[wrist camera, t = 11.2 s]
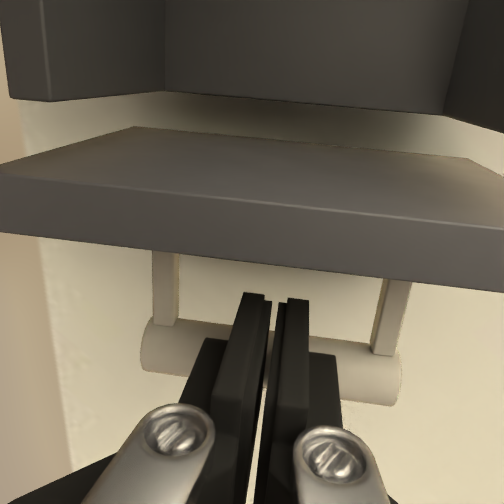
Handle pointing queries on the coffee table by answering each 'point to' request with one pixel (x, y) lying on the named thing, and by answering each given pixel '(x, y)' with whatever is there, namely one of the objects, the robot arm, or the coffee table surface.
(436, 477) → the coffee table surface
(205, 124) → the coffee table surface
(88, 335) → the coffee table surface
